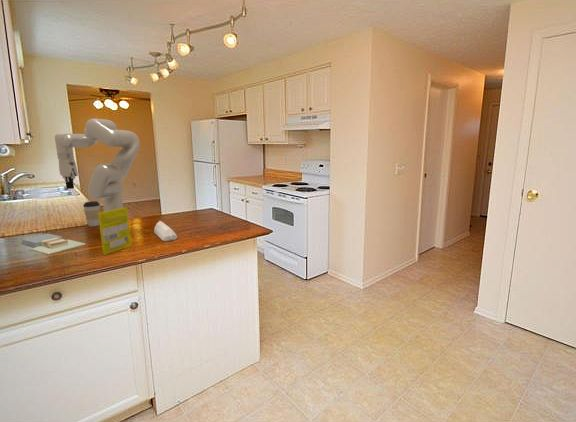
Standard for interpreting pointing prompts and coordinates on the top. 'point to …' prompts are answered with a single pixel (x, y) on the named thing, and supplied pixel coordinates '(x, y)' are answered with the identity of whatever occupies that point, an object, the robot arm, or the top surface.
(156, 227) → the crystal
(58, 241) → the birch tile
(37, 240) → the block
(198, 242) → the top surface
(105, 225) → the food package
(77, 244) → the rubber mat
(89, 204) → the coffee cup
